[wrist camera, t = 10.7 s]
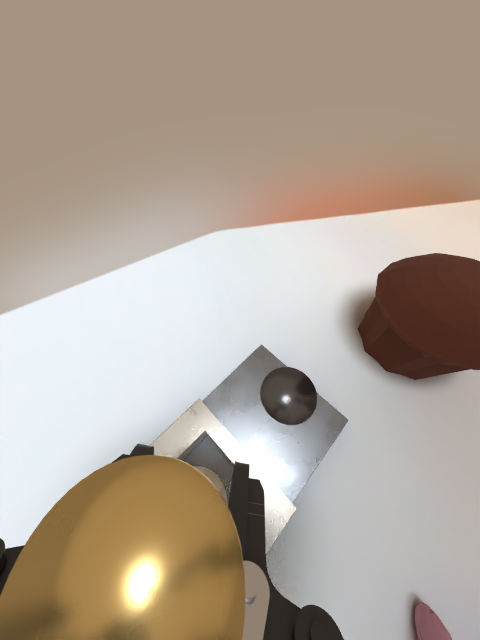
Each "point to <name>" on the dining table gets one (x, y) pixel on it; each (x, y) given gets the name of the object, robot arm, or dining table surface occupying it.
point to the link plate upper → (202, 421)
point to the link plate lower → (276, 419)
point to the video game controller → (429, 624)
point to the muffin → (425, 316)
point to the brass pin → (131, 560)
